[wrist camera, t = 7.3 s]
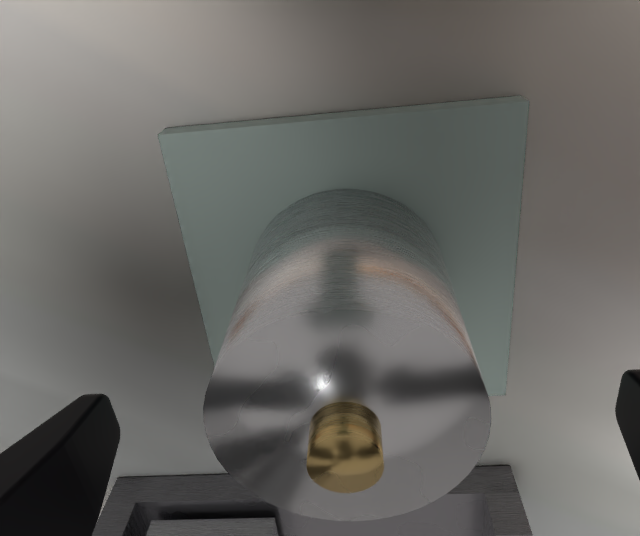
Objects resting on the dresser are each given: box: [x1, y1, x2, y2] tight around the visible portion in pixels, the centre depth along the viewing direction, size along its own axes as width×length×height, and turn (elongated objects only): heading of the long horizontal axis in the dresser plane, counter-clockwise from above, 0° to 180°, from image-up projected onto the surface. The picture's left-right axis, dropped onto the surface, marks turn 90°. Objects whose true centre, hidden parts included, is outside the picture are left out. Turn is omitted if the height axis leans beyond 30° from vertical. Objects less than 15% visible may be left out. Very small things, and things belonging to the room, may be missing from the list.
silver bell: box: [203, 189, 491, 521], centre depth 11 cm, size 5×5×6 cm
